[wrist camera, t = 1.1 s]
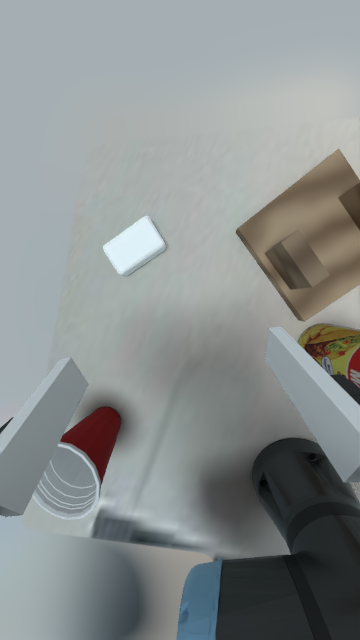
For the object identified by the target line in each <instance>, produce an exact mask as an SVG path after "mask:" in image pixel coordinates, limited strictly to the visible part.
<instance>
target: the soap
mask: <svg viewBox="0 0 360 640" xmlns="http://www.w3.org/2000/svg"><path fill="white" fill-rule="evenodd" d="M103 250H104V252H105V253H106V255H107V256H108V258H109V260H110V261H111V263H112V264H113V266H114V267H115V269H116V271H117V272H118V273H119V274H120V275H123V276H128V275H129V274H131V273H132V272H134V271H135V270H137V269H138V268H140V267H141V266H143V265H144V264H146V263H147V262H149V261H150V260H152V259H153V258H154V257H156V256H157V255H159V254H160V253H162V252H163V251H165V250H166V245H165V242H164V241H163V239H162V237H161V236H160V234H159V232H158V231H157V229H156V227H155V226H154V224H153V223H152V221H151V219H150V218H149V217H148V216H144V217H142V218H141V219H140V220H138V221H137V222H136V223H134V224H133V225H131V226H130V227H128V228H127V229H126V230H124V231H123V232H122V233H120V234H119V235H118V236H116V237H115V238H113V239H112V240H111V241H109V242H108V243H106V244H105V245H104V246H103Z"/></svg>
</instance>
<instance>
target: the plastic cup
mask: <svg viewBox="0 0 360 640" xmlns="http://www.w3.org/2000/svg"><path fill="white" fill-rule="evenodd" d="M120 424H121V419H120V416H119V414H118V413H117V412H116V411H115V410H114V409H112V408H110V407H102V408H99V409H97V410H95V411H94V412H93V413H92V414H91V415H89V416H88V417H86V418H85V419H83V420H82V421H81V422H79V423H78V424H77V425H75V426H74V427H73V428H71V429H70V430H69V431H68V432H66V433H65V434H64V435H63V436H62V438H61V440H60V442H59V444H58V446H57V448H56V450H55V452H54V454H53V456H52V458H51V460H50V462H49V463H48V465H47V467H46V469H45V471H44V473H43V475H42V477H41V479H40V481H39V483H38V485H37V487H36V489H35V491H34V493H33V495H32V497H33V498H34V499H35V500H36V502H37V503H38V504H39V506H40V507H42V508H43V509H44V510H46V511H47V512H49V513H50V514H52V515H53V516H56V517H59V518H63V519H66V520H72V519H81V518H83V517H84V516H86V515H87V514H89V513H90V512H92V511H93V509H94V507H95V505H96V503H97V502H98V500H99V497H100V488H101V484H102V482H103V477H104V475H105V472H106V468H107V465H108V462H109V459H110V456H111V454H112V451H113V448H114V445H115V442H116V438H117V435H118V432H119V429H120Z"/></svg>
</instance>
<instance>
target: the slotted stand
mask: <svg viewBox="0 0 360 640" xmlns="http://www.w3.org/2000/svg"><path fill="white" fill-rule="evenodd" d="M236 233H237V235H238V236H239V237H240V239H241V240H242V242H243V243H244V244H245V246H246V247H247V249H248V250H249V251H250V253H251V254H252V256H253V257H254V258H255V260H256V261H257V263H258V264H259V266H260V267H261V268H262V270H263V271H264V273H265V274H266V275H267V277H268V278H269V280H270V281H271V282H272V284H273V285H274V287H275V288H276V289H277V291H278V292H279V294H280V295H281V296H282V298H283V299H284V301H285V302H286V303H287V305H288V306H289V308H290V309H291V310H292V312H293V313H294V315H295V316H296V317H297V319H298V320H300V321H306V320H307V319H309V318H310V317H312V316H313V315H315V314H316V313H318V312H319V311H321V310H322V309H324V308H325V307H327V306H328V305H330V304H331V303H332V302H334V301H335V300H337V299H338V298H340V297H341V296H343V295H344V294H346V293H347V292H349V291H350V290H352V289H353V288H355V287H356V286H358V285H359V284H360V180H359V178H358V177H357V175H356V174H355V172H354V171H353V169H352V168H351V166H350V165H349V163H348V162H347V160H346V159H345V157H344V156H343V154H342V153H341V151H340V149H338V150H336V151H335V152H334V153H333V154H331V155H330V156H329V157H328V158H326V159H325V160H324V161H323V162H321V163H320V164H319V165H317V166H316V167H315V168H314V169H312V170H311V171H310V172H309V173H307V174H306V175H305V176H304V177H302V178H301V179H300V180H298V181H297V182H296V183H295V184H293V185H292V186H291V187H290V188H288V189H287V190H286V191H285V192H283V193H282V194H281V195H279V196H278V197H277V198H276V199H274V200H273V201H272V202H271V203H269V204H268V205H267V206H266V207H264V208H263V209H262V210H260V211H259V212H258V213H257V214H255V215H254V216H253V217H252V218H250V219H249V220H248V221H247V222H245V223H244V224H243V225H241V226H240V227H239V228H238V229H237V231H236Z"/></svg>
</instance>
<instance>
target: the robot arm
mask: <svg viewBox="0 0 360 640" xmlns="http://www.w3.org/2000/svg"><path fill="white" fill-rule="evenodd" d="M265 361H266V363H267V364H268V366H269V367H270V369H271V371H272V372H273V374H274V375H275V377H276V378H277V380H278V381H279V383H280V385H281V386H282V388H283V389H284V391H285V392H286V394H287V395H288V397H289V398H290V400H291V402H292V403H293V405H294V406H295V408H296V409H297V411H298V412H299V414H300V416H301V417H302V419H303V420H304V422H305V423H306V425H307V426H308V428H309V430H310V431H311V433H312V434H313V436H314V437H315V439H316V440H317V442H318V443H319V445H318V444H316V443H314V442H311V441H308V440H304V439H285V440H281V441H278V442H276V443H273V444H271V445H270V446H268V447H267V448H266V449H264V450H263V451H262V452H261V453H260V455H259V456H258V457H257V459H256V461H255V463H254V466H253V472H252V477H253V483H254V486H255V489H256V492H257V495H258V497H259V500H260V502H261V504H262V505H263V507H264V508H265V510H266V511H267V513H268V514H269V516H270V518H271V519H272V521H273V522H274V524H275V525H276V527H277V528H278V530H279V531H280V533H281V535H282V536H283V538H284V539H285V541H286V543H287V545H288V548H289V550H290V553H291V555H278V556H266V557H255V558H244V559H232V560H222V558H219V559H218V561H214V562H209V563H203V564H198V565H196V566H194V567H193V568H192V569H191V570H190V572H189V574H188V576H187V579H186V581H185V585H184V588H183V594H182V599H181V605H180V613H179V621H178V632H177V640H360V503H359V501H358V499H357V497H356V495H355V493H354V491H353V489H352V487H351V485H350V483H349V482H357V481H360V388H359V387H358V386H357V385H356V384H355V383H354V382H352V381H350V380H349V379H347V378H345V377H344V376H342V375H340V374H335V375H329V374H328V373H327V372H326V371H325V370H324V369H323V368H322V367H321V366H320V365H319V364H318V363H317V362H316V361H315V360H314V359H313V358H312V357H311V356H310V355H309V354H308V353H307V352H306V351H305V350H304V349H303V348H302V347H301V346H300V345H299V344H298V343H297V342H296V341H295V340H294V339H293V338H292V337H291V336H290V335H289V334H288V333H287V332H286V331H285V330H284V329H283V328H282V327H274V328H269V330H268V338H267V345H266V353H265ZM88 385H89V384H88V382H87V381H86V379H85V378H84V376H83V375H82V373H81V372H80V370H79V369H78V367H77V366H76V364H75V362H74V361H73V359H72V358H71V357H70V358H63V359H60V360H59V361H58V363H57V364H56V365H55V366H54V368H53V369H52V370H51V371H50V373H49V374H48V375H47V376H46V378H45V379H44V380H43V381H42V383H41V384H40V385H39V387H38V388H37V389H36V390H35V391H34V393H33V394H32V395H31V396H30V398H29V399H28V400H27V401H26V403H25V404H24V405H23V406H22V408H21V409H20V410H19V411H18V413H17V414H16V415H15V416H14V417H13V418H11V419H10V420H9V421H8V422H7V423H6V424H4V425H3V426H2V427H1V428H0V515H2V516H5V517H8V516H17V515H23V513H24V511H25V509H26V507H27V505H28V503H29V501H30V499H31V497H32V495H33V493H34V491H35V489H36V487H37V485H38V483H39V481H40V479H41V477H42V475H43V473H44V471H45V469H46V467H47V465H48V463H49V462H50V460H51V458H52V456H53V454H54V452H55V450H56V448H57V446H58V444H59V442H60V440H61V438H62V436H63V434H64V432H65V430H66V428H67V426H68V424H69V422H70V420H71V418H72V416H73V414H74V412H75V410H76V408H77V406H78V404H79V402H80V400H81V398H82V396H83V394H84V392H85V390H86V389H87V387H88Z"/></svg>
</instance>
